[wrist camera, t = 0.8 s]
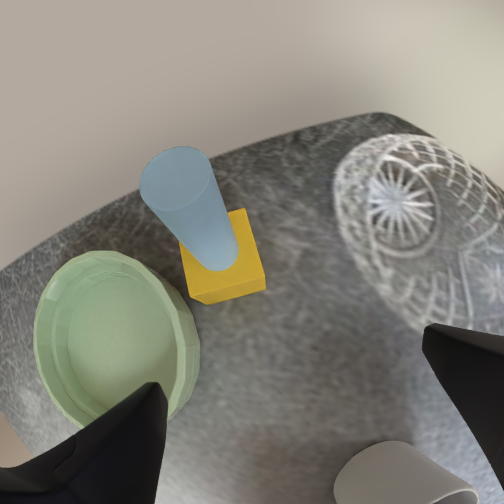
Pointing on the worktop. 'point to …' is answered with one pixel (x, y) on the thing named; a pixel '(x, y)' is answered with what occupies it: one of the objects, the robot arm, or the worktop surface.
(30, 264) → the worktop surface
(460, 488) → the mug
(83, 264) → the bowl
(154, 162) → the sponge wand
